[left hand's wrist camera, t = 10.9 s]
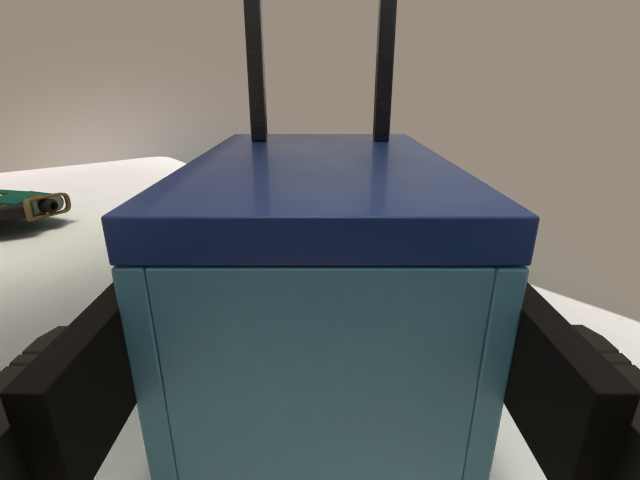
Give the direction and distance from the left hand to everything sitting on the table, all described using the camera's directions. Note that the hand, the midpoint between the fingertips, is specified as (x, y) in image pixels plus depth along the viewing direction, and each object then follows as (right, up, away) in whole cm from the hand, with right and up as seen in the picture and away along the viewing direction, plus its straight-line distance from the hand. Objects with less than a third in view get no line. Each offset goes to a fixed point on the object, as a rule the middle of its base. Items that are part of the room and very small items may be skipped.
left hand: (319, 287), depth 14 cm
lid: (0, +4, +3) cm, 4 cm away
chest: (0, -5, +5) cm, 7 cm away
